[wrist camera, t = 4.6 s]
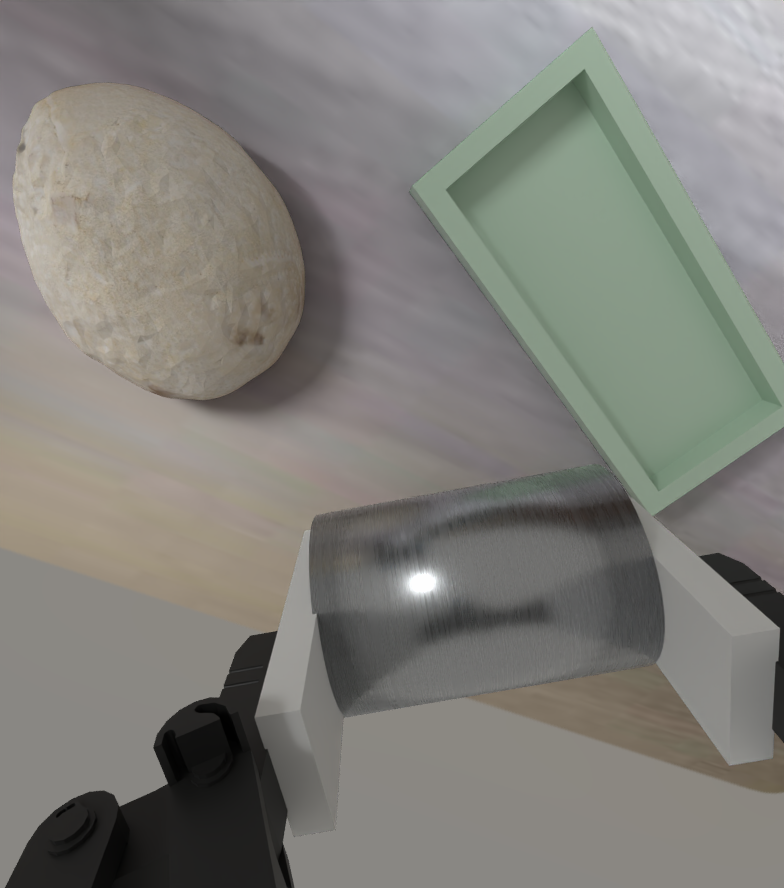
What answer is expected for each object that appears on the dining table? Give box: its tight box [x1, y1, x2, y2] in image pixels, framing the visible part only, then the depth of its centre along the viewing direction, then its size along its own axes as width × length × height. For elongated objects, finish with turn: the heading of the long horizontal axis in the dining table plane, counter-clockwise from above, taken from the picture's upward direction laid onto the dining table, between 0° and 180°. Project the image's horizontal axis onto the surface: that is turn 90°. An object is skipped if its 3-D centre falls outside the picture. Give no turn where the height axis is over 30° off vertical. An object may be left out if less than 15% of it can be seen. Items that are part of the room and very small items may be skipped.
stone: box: [13, 83, 305, 400], centre depth 23 cm, size 13×10×8 cm
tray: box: [409, 27, 784, 516], centre depth 25 cm, size 20×9×2 cm, turn 39°
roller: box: [309, 464, 665, 718], centre depth 13 cm, size 5×7×5 cm
